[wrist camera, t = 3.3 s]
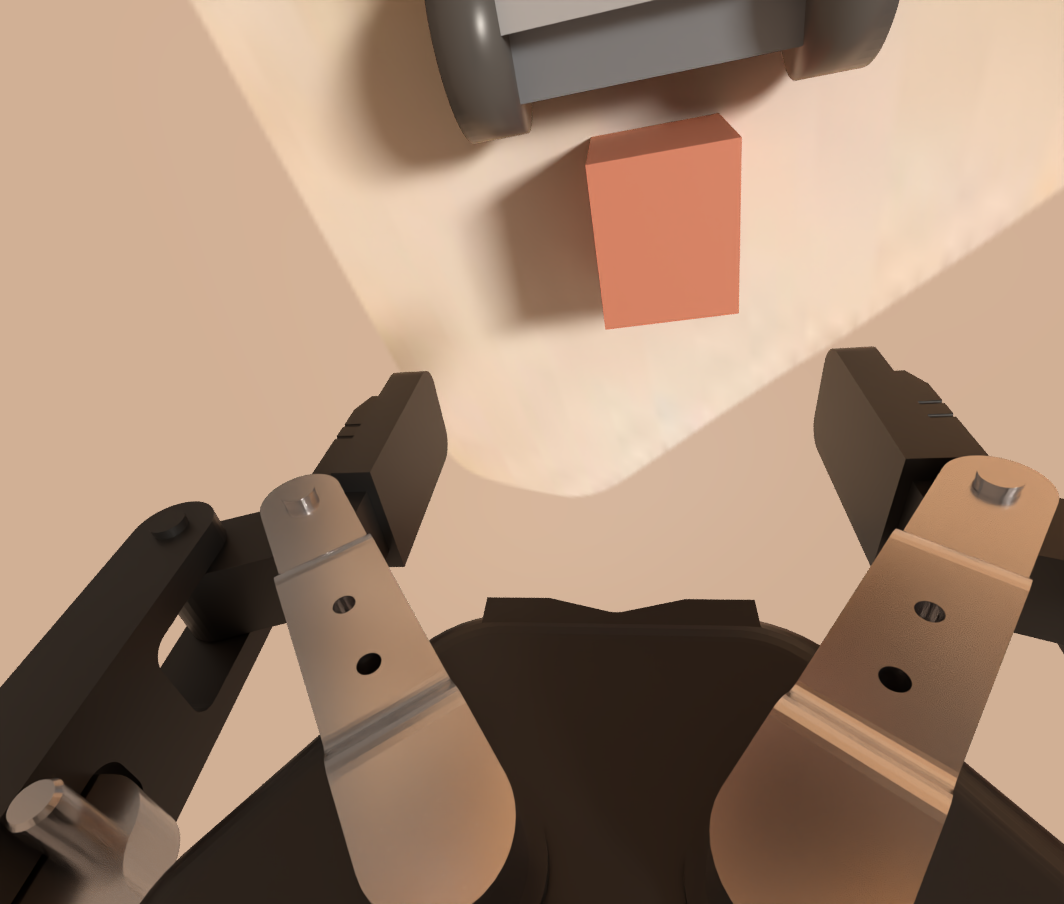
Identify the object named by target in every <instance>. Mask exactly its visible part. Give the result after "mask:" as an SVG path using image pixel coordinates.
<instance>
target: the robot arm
mask: <svg viewBox="0 0 1064 904" xmlns="http://www.w3.org/2000/svg"><path fill="white" fill-rule="evenodd" d="M814 439H815V444H816V447H817V450H818V452H819V454H820V456H821V459H822V461H823V463H824V465H825V468H826V469H827V472H828V474H829V476H830V478H831V481H832V483H833V485H834V487H835V489H836V491H837V494H838V496H839V498H840V500H841V502H842V505H843V507H844V509H845V511H846V513H847V516H848V518H849V520H850V522H851V524H852V526H853V528H854V531H855V533H856V535H857V537H858V540H859V542H860V544H861V546H862V548H863V551H864V553H865V555H866V557H867V559H868V561H869V564H870V566H871V567H870V568H869V570H868V571H867V573H866V575H865V576H864V578H863V579H862V581H861V582H860V584H859V586H858V587H857V589H856V590H855V592H854V594H853V595H852V596H851V598H850V600H849V602H848V603H847V604H846V606H845V608H844V609H843V611H842V612H841V614H840V615H839V617H838V618H837V620H836V622H835V623H834V625H833V626H832V628H831V629H830V631H829V633H828V634H827V636H826V637H825V639H824V641H823V642H822V643H821V645H818V644H816V643H814V642H813V641H811V640H809V639H807V638H805V637H803V636H801V635H799V634H796V633H794V632H792V631H789V630H787V629H784V628H781V627H778V626H775V625H772V624H768V623H764V622H760V621H759V618H758V613H757V608H756V604H755V600H706V599H705V600H704V599H684V600H679V601H674V602H669V603H664V604H660V605H655V606H650V607H645V608H640V609H635V610H630V611H625V612H608V611H604V610H599V609H595V608H591V607H586V606H582V605H577V604H573V603H569V602H564V601H560V600H556V599H551V598H491V597H490V598H487V602H486V606H485V611H484V616H483V618H479V619H475V620H472V621H468V622H465V623H462V624H460V625H457V626H455V627H453V628H450V629H448V630H446V631H444V632H442V633H441V634H439V635H437V636H435V637H433V638H432V639H431V640H428V638H427V636H426V634H425V632H424V631H423V629H422V627H421V625H420V623H419V621H418V620H417V618H416V616H415V614H414V612H413V610H412V609H411V607H410V605H409V603H408V601H407V599H406V598H405V596H404V594H403V592H402V590H401V588H400V587H399V585H398V583H397V581H396V579H395V578H394V576H393V574H392V572H391V570H390V568H389V567H404V566H405V564H406V561H407V559H408V556H409V554H410V551H411V548H412V546H413V543H414V540H415V538H416V535H417V532H418V530H419V527H420V525H421V522H422V520H423V517H424V514H425V512H426V509H427V507H428V504H429V501H430V499H431V496H432V493H433V491H434V488H435V486H436V483H437V480H438V478H439V475H440V473H441V470H442V467H443V465H444V462H445V459H446V456H447V433H446V428H445V424H444V421H443V417H442V413H441V409H440V405H439V401H438V397H437V393H436V389H435V385H434V381H433V378H432V376H431V374H430V373H429V372H428V371H420V372H402V373H393V374H392V375H391V377H390V378H389V380H388V381H387V383H386V385H385V387H384V388H383V390H382V391H381V393H380V394H379V396H372V397H371V398H369V399H368V400H367V401H365V402H364V403H363V404H361V405H360V406H359V407H357V408H356V409H355V410H354V411H353V413H352V414H351V416H350V417H349V419H348V420H347V422H346V423H345V427H343V428H342V429H341V431H340V432H339V434H338V435H337V439H335V440H334V442H333V443H332V445H331V446H330V448H329V449H328V451H327V452H326V454H325V455H324V457H323V458H322V460H321V461H320V463H319V464H318V466H317V467H316V469H315V470H314V472H313V473H312V474H310V475H305V476H301V477H297V478H294V479H292V480H290V481H287V482H286V483H284V484H282V485H280V486H279V487H277V488H276V489H274V490H273V491H272V492H271V493H270V494H269V495H268V496H267V497H266V498H265V500H264V501H263V503H262V505H261V507H260V512H257V513H253V514H249V515H244V516H240V517H236V518H232V519H228V520H224V521H220V520H219V518H218V517H217V515H216V513H215V512H214V510H213V508H212V507H211V506H210V505H209V504H207V503H204V502H185V503H181V504H177V505H174V506H171V507H168V508H166V509H164V510H162V511H160V512H158V513H156V514H154V515H153V516H151V517H149V518H148V519H147V520H146V521H144V522H143V523H142V524H141V525H139V526H138V528H136V529H135V531H134V532H133V533H132V534H131V535H130V536H129V537H128V539H127V540H126V541H125V542H124V543H123V544H122V546H121V547H120V548H119V549H118V550H117V552H116V553H115V554H114V555H113V556H112V557H111V559H110V560H109V561H108V562H107V563H106V565H105V566H104V567H103V568H102V569H101V570H100V571H99V573H98V574H97V575H96V576H95V577H94V579H93V580H92V581H91V582H90V583H89V584H88V585H87V587H86V588H85V589H84V590H83V592H82V593H81V594H80V595H79V596H78V597H77V598H76V600H75V601H74V602H73V603H72V604H71V605H70V606H69V608H68V609H67V610H66V611H65V612H64V614H63V615H62V616H61V617H60V618H59V619H58V621H57V622H56V623H55V624H54V625H53V626H52V628H51V629H50V630H49V631H48V632H47V634H46V635H45V636H44V637H43V638H42V640H40V642H39V643H38V644H37V645H36V646H35V647H34V649H33V650H32V651H31V652H30V653H29V654H28V656H27V657H26V658H25V659H24V660H23V661H22V663H21V664H20V665H19V666H18V667H17V669H16V670H15V671H14V672H13V673H12V674H11V676H10V677H9V678H8V679H7V680H6V681H5V683H4V684H3V685H2V686H1V687H0V904H1064V844H1063V843H1062V842H1061V841H1059V840H1058V839H1057V838H1056V837H1055V836H1053V835H1052V834H1051V833H1050V832H1049V831H1047V830H1046V829H1045V828H1044V827H1042V826H1041V825H1040V824H1039V823H1038V822H1036V821H1035V820H1034V819H1033V818H1032V817H1030V816H1029V815H1028V814H1027V813H1026V812H1024V811H1023V810H1022V809H1021V808H1019V807H1018V806H1017V805H1016V804H1015V803H1014V802H1012V801H1011V800H1010V799H1009V798H1008V797H1006V796H1005V795H1004V794H1003V793H1001V792H1000V791H999V790H998V789H997V788H996V787H994V786H993V785H992V784H991V783H989V782H988V781H987V780H986V779H985V778H983V777H982V776H981V775H980V774H979V773H977V772H976V771H975V770H974V769H973V768H971V767H970V766H969V765H968V764H966V763H965V762H964V759H965V757H966V754H967V752H968V749H969V746H970V744H971V741H972V739H973V736H974V733H975V731H976V728H977V726H978V723H979V720H980V718H981V715H982V713H983V710H984V707H985V705H986V702H987V699H988V697H989V694H990V692H991V689H992V686H993V684H994V681H995V679H996V676H997V674H998V671H999V668H1000V666H1001V663H1002V660H1003V658H1004V655H1005V653H1006V650H1007V648H1008V645H1009V642H1010V640H1011V637H1012V635H1013V633H1018V634H1021V635H1026V636H1030V637H1034V638H1038V639H1042V640H1046V641H1050V642H1054V643H1058V645H1059V647H1060V648H1061V650H1062V652H1063V653H1064V499H1061V498H1059V494H1058V491H1057V489H1056V487H1055V486H1054V485H1053V484H1052V483H1051V482H1050V481H1049V480H1048V479H1047V478H1046V477H1045V476H1043V475H1042V474H1040V473H1039V472H1037V471H1035V470H1033V469H1031V468H1029V467H1027V466H1025V465H1022V464H1020V463H1017V462H1014V461H1011V460H1007V459H1002V458H998V457H992V456H988V454H987V453H986V452H985V451H984V450H983V448H982V447H981V446H980V445H979V444H978V442H977V441H976V440H975V439H974V438H973V437H972V435H971V434H970V433H969V432H968V431H967V429H966V428H965V427H964V426H963V425H962V423H961V422H960V421H959V420H958V418H957V417H953V413H952V411H951V410H950V409H949V408H948V407H947V405H946V404H945V403H942V399H941V398H940V397H939V396H938V395H937V393H936V392H935V391H934V390H933V389H932V388H931V386H930V385H929V384H928V383H926V382H924V381H923V380H921V379H919V378H917V377H915V376H914V375H912V374H910V373H908V372H906V371H905V370H904V371H894V370H893V369H892V368H891V367H890V365H889V364H888V363H887V361H886V360H885V359H884V357H883V356H882V355H881V354H880V352H879V351H878V350H877V349H876V348H875V347H856V348H839V349H830V350H829V352H828V353H827V356H826V358H825V363H824V368H823V373H822V379H821V384H820V390H819V395H818V400H817V406H816V411H815V417H814ZM177 615H179V616H180V617H181V619H182V620H183V621H184V623H185V624H186V625H187V627H186V628H185V630H184V631H183V633H182V635H181V637H180V638H179V639H178V641H177V643H176V644H175V646H174V647H173V649H172V650H171V652H170V654H169V655H168V657H167V658H166V660H165V661H164V663H163V665H162V666H161V668H160V667H159V664H158V650H159V646H160V643H161V640H162V638H163V637H164V635H165V633H166V632H167V630H168V628H169V627H170V626H171V624H172V623H173V621H174V620H175V618H176V617H177ZM284 623H287V625H288V629H289V632H290V636H291V639H292V642H293V646H294V649H295V652H296V656H297V659H298V662H299V666H300V669H301V672H302V676H303V679H304V683H305V686H306V689H307V693H308V696H309V699H310V702H311V706H312V709H313V713H314V716H315V720H316V723H317V726H318V729H319V733H320V735H319V736H318V737H316V738H315V739H314V740H313V741H312V742H311V743H310V744H308V745H307V747H305V748H304V749H303V750H302V751H301V752H299V753H298V754H297V755H296V756H295V757H294V758H293V759H291V760H290V761H289V762H288V763H287V764H286V765H285V766H283V767H282V768H281V769H280V770H279V771H278V772H277V773H275V774H274V775H273V776H272V777H271V778H270V779H269V780H268V781H266V782H265V783H264V784H263V785H262V786H261V787H259V788H258V789H257V790H256V791H255V792H254V793H253V794H252V795H250V796H249V797H248V798H247V799H246V800H245V801H244V802H243V803H241V804H240V805H239V806H238V807H237V808H236V809H235V810H233V811H232V812H231V813H230V814H229V815H228V816H227V817H225V818H224V819H223V820H222V821H221V822H220V823H219V824H217V825H216V826H215V827H214V828H213V829H212V830H211V831H209V832H208V833H207V834H206V835H205V836H204V837H202V838H201V839H200V840H199V841H198V842H197V843H196V844H195V845H194V846H192V847H191V848H190V849H189V850H188V851H187V852H185V853H184V854H183V855H182V856H181V857H180V858H179V859H178V860H177V861H176V859H177V856H178V852H179V847H180V832H179V828H178V825H177V823H176V821H177V819H178V817H179V815H180V813H181V811H182V809H183V807H184V805H185V803H186V801H187V799H188V797H189V795H190V793H191V791H192V789H193V787H194V785H195V783H196V781H197V779H198V776H199V774H200V772H201V770H202V768H203V766H204V764H205V762H206V760H207V758H208V756H209V754H210V752H211V750H212V748H213V746H214V744H215V742H216V740H217V738H218V736H219V734H220V732H221V730H222V727H223V726H224V724H225V722H226V720H227V718H228V716H229V714H230V712H231V710H232V708H233V705H234V703H235V701H236V699H237V697H238V695H239V693H240V691H241V689H242V687H243V685H244V683H245V681H246V679H247V677H248V675H249V673H250V671H251V669H252V667H253V665H254V663H255V661H256V659H257V657H258V655H259V653H260V651H261V648H262V647H263V645H264V643H265V641H266V638H267V636H268V634H269V632H270V630H271V628H272V626H276V625H280V624H284Z"/></svg>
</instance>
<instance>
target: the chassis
mask: <svg viewBox="0 0 1064 904" xmlns="http://www.w3.org/2000/svg"><path fill="white" fill-rule="evenodd" d="M898 3H899V0H425V6H426V12H427V18H428V23H429V29H430V34H431V38H432V43H433V47H434V52H435V56H436V60H437V64H438V68H439V71H440V75H441V78H442V82H443V85H444V88H445V91H446V94H447V97H448V100H449V103H450V106H451V108H452V111H453V113H454V116H455V118H456V120H457V122H458V125H459V127H460V128H461V130H462V132H463V134H464V135H465V137H466V138H467V139H468V140H469V141H470V142H471V143H473V144H476V143H481V142H486V141H491V140H496V139H502V138H507V137H512V136H517V135H522V134H527V133H529V132H530V130H531V126H532V102H536V101H541V100H545V99H550V98H555V97H560V96H565V95H569V94H574V93H579V92H584V91H589V90H594V89H598V88H603V87H608V86H613V85H618V84H623V83H627V82H632V81H637V80H642V79H647V78H652V77H656V76H661V75H666V74H671V73H676V72H680V71H685V70H690V69H695V68H700V67H705V66H709V65H714V64H719V63H724V62H729V61H734V60H738V59H743V58H748V57H753V56H758V55H763V54H767V53H772V52H777V51H782V57H783V61H784V65H785V68H786V71H787V73H788V75H789V77H790V78H791V79H792V80H795V81H797V80H802V79H807V78H812V77H817V76H822V75H827V74H832V73H837V72H842V71H848V70H853V69H858V68H863V67H865V66H867V65H868V64H870V63H871V62H872V61H873V59H874V58H875V57H876V56H877V54H878V53H879V51H880V49H881V48H882V46H883V44H884V42H885V40H886V37H887V35H888V33H889V30H890V28H891V25H892V22H893V19H894V16H895V13H896V10H897V7H898Z"/></svg>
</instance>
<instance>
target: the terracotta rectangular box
mask: <svg viewBox="0 0 1064 904" xmlns="http://www.w3.org/2000/svg"><path fill="white" fill-rule="evenodd" d="M741 149H742V137H741V136H740V135H739V134H738V133H737V132H736V131H735V130H734V129H733V128H732V127H731V126H730V124H729V123H728V122H727V121H726V120H725V119H724V118H723V117H722V116H721V115H720V114H719V113H716V114H711V115H706V116H701V117H695V118H690V119H685V120H680V121H674V122H669V123H664V124H658V125H653V126H648V127H643V128H637V129H632V130H627V131H621V132H616V133H611V134H606V135H600V136H595V137H591V140H590V145H589V150H588V154H587V159H586V164H585V167H586V175H587V183H588V191H589V200H590V208H591V216H592V224H593V232H594V240H595V248H596V256H597V264H598V272H599V281H600V289H601V297H602V305H603V313H604V321H605V329H614V328H623V327H631V326H639V325H647V324H655V323H663V322H672V321H680V320H688V319H696V318H704V317H712V316H721V315H729V314H737V313H739V263H740V206H741Z"/></svg>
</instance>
